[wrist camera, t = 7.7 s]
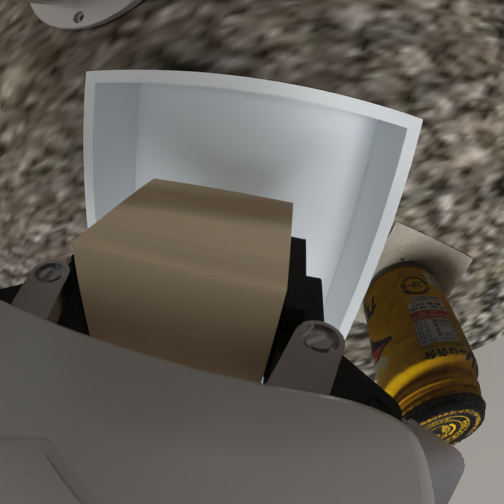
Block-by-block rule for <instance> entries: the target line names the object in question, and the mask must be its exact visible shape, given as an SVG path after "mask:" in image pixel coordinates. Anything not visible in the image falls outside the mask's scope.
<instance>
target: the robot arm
mask: <svg viewBox="0 0 504 504" xmlns="http://www.w3.org/2000/svg"><path fill="white" fill-rule="evenodd" d="M0 1H11V2H24V3H30V5H31V7H32V9H33V11H34V13H35V15H36V16H37V17H38V18H39V19H40V20H41V21H42V22H44V23H46V24H48V25H49V26H52V27H56V28H60V29H70V30H78V29H88V28H92V27H95V26H99V25H102V24H105V23H107V22H109V21H111V20H113V19H116V18H118V17H119V16H121V15H123V14H124V13H126V12H127V11H129V10H131V9H132V8H134V7H135V6H136V5H138V4H139V3H140V2H141V1H143V0H0ZM71 259H72V261H71V262H70V263H69V264H68V265H67V263H65V262H63V261H58V260H51V261H46V262H43V263H41V264H39V265H37V266H36V267H35V268H34V269H33V270H32V271H31V273H30V274H29V276H28V277H27V279H26V280H25V282H24V283H23V284H20V285H16V286H12V287H8V288H4V289H0V504H448V502H449V500H450V498H451V496H452V494H453V492H454V491H455V488H456V486H457V484H458V482H459V480H460V478H461V476H462V473H463V471H464V466H465V465H464V459H463V457H462V455H461V453H460V452H459V451H458V450H457V449H456V448H455V447H453V446H452V445H450V444H449V443H447V442H446V441H444V440H443V439H441V438H440V437H438V436H437V435H435V434H434V433H432V432H431V431H429V430H428V429H426V428H425V427H423V426H422V425H420V424H419V423H418V422H416V421H415V420H413V419H412V418H411V419H410V420H409V421H407V420H406V419H404V418H403V417H402V410H401V408H400V406H399V404H398V403H397V401H396V400H395V399H394V398H393V397H392V396H390V395H389V394H388V393H387V392H386V391H384V390H383V389H382V388H381V387H380V386H378V385H377V384H376V383H375V382H374V381H373V380H371V379H370V378H369V377H368V376H367V375H365V374H364V373H363V372H362V371H361V370H360V369H358V368H357V367H356V366H355V365H354V364H352V363H351V362H350V361H349V360H348V359H347V358H345V357H344V356H343V355H342V354H343V351H344V347H345V340H344V337H343V335H342V334H341V332H340V331H339V330H338V329H336V328H335V327H334V326H332V325H330V324H328V323H326V322H324V307H323V291H322V280H321V278H316V277H311V276H306V239H301V238H297V237H292V236H291V245H290V259H289V272H288V284H287V292H286V295H285V299H284V303H283V307H282V310H281V314H280V318H279V321H278V325H277V329H276V332H275V336H274V340H273V343H272V347H271V350H270V354H269V357H268V361H267V364H266V368H265V371H264V375H263V377H264V378H263V383H259V382H255V381H250V380H245V379H240V378H236V377H231V376H227V375H222V374H218V373H214V372H209V371H205V370H201V369H197V368H193V367H189V366H186V365H182V364H178V363H174V362H171V361H167V360H164V359H160V358H157V357H153V356H150V355H146V354H143V353H140V352H136V351H133V350H130V349H127V348H124V347H121V346H117V345H114V344H111V343H108V342H105V341H102V340H100V339H97V338H94V337H91V336H90V334H89V330H88V326H87V321H86V317H85V312H84V308H83V303H82V298H81V293H80V288H79V283H78V277H77V271H76V265H75V259H74V254H73V255H72V256H71Z"/></svg>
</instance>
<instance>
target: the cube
mask: <svg viewBox="0 0 504 504" xmlns="http://www.w3.org/2000/svg"><path fill="white" fill-rule="evenodd" d="M292 216H293V203H291V202H286V201H281V200H276V199H271V198H266V197H261V196H256V195H251V194H245V193H240V192H234V191H229V190H223V189H217V188H212V187H206V186H200V185H194V184H187V183H181V182H175V181H168V180H162V179H155V178H153V179H152V180H151V181H149V182H148V183H146V184H145V185H144V186H142V187H141V188H140V189H138V190H137V191H136V192H134V193H133V194H132V195H130V196H129V197H128V198H126V199H125V200H124V201H122V202H121V203H120V204H118V205H117V206H116V207H115V208H113V209H112V210H111V211H109V212H108V213H107V214H106V215H104V216H103V217H102V218H101V219H99V220H98V221H97V222H96V223H94V224H93V225H92V226H91V227H90V228H88V229H87V230H86V231H85V232H84V233H82V234H81V235H80V236H79V237H78V238H76V239H75V240H74V241H73V242H72V245H73V252H74V259H75V265H76V271H77V277H78V283H79V288H80V293H81V298H82V303H83V308H84V312H85V317H86V321H87V326H88V330H89V334H90V336H91V337H94V338H97V339H100V340H102V341H105V342H108V343H111V344H114V345H117V346H121V347H124V348H127V349H130V350H133V351H136V352H140V353H143V354H146V355H150V356H153V357H157V358H160V359H164V360H167V361H171V362H174V363H178V364H182V365H186V366H189V367H193V368H197V369H201V370H205V371H209V372H214V373H218V374H222V375H227V376H231V377H236V378H240V379H245V380H250V381H255V382H259V383H261V381H262V378H263V375H264V371H265V368H266V364H267V361H268V357H269V354H270V350H271V347H272V343H273V340H274V336H275V332H276V329H277V325H278V321H279V318H280V314H281V310H282V307H283V303H284V299H285V295H286V292H287V284H288V272H289V259H290V245H291V231H292Z"/></svg>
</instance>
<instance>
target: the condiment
mask: <svg viewBox="0 0 504 504" xmlns="http://www.w3.org/2000/svg"><path fill="white" fill-rule="evenodd" d="M407 255H410V257H408V258H405V257H406V256H407ZM401 258H405V259H404V260H400V259H401ZM472 260H473V259H472V258H471V257H469V256H467V255H465V254H463V253H461V252H459V251H458V250H456V249H454V248H451V247H450V246H448V245H446V244H444V243H442V242H440V241H438V240H436V239H434V238H432V237H430V236H427V235H425V234H422V233H420V232H418V231H416V230H414V229H412V228H410V227H407V226H405V225H403V224H401V223H398V222H396V223H395V225H394V227H393V229H392V231H391V233H390V235H389V236H388V238H387V240H386V243H385V245H384V248H383V251H382V253H381V256H380V259H379V261H378V264H377V266H376V269H375V272H374V274H373V277H372V279H371V282H370V284H369V286H368V289H367V291H366V294H365V296H364V298H363V301H362V303H361V305H360V308H359V310H358V312H357V315H356V317H355V319H354V321H358V322H361V323H365V324H367V328H368V333H369V337H370V343H371V347H372V356H373V359H374V365H375V370H376V376H377V384H378V386H380V387H381V388H382V389H383V390H384V391H386V392H387V393H388V394H389V395H390V396H392V397H393V398H394V399H395V400H396V401H397V403H398V404H399V406H400V408H401V410H402V417H403V418H404V419H406V420H407V421H409V420H410V419H411V418H412V419H413V420H415V421H416V422H418V423H419V424H420V425H422V426H423V427H425V428H426V429H428V430H429V431H431V432H432V433H434V434H435V435H437V436H438V437H440V438H441V439H443V440H444V441H446V442H447V443H449V444H450V445H452V446H453V445H455V444H456V443H458V442H460V441H461V440H463V439H465V438H467V437H468V436H470V435H471V434H472V433H473V432H474V431H476V429H478V427H479V426H480V425H481V424H482V422H483V420H484V417H485V409H486V403H485V401H484V400H483V398H482V397H481V390H480V385H479V382H478V381H477V378H478V365H477V362H476V359H475V357H474V354H473V352H472V350H471V348H470V345H469V343H468V341H467V339H466V337H465V335H464V333H463V331H462V328H461V326H460V324H459V322H458V320H457V318H456V316H455V314H454V312H453V310H452V308H451V306H450V304H449V302H448V300H447V297H448V296H449V294H450V293H451V291H452V289H453V288H454V287H455V285H456V283H457V282H458V280H459V279H460V277H461V276H462V275H463V274H464V272H465V271H466V270H467V268H468V266H469V265H470V263H471V262H472ZM439 284H440V285H439Z"/></svg>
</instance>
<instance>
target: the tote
mask: <svg viewBox="0 0 504 504" xmlns="http://www.w3.org/2000/svg"><path fill="white" fill-rule="evenodd" d="M422 121H423V119H420V118H417V117H414V116H411V115H408V114H405V113H402V112H399V111H396V110H393V109H390V108H387V107H383V106H380V105H377V104H373V103H370V102H366V101H363V100H359V99H355V98H351V97H348V96H344V95H340V94H335V93H331V92H327V91H322V90H318V89H313V88H308V87H304V86H298V85H293V84H288V83H282V82H276V81H270V80H264V79H257V78H250V77H242V76H234V75H225V74H215V73H204V72H190V71H171V70H103V71H86V82H85V99H84V134H83V146H84V182H85V200H86V213H87V224H88V228H90V227H91V226H92V225H93V224H94V223H96V222H97V221H98V220H99V219H101V218H102V217H103V216H104V215H106V214H107V213H108V212H109V211H111V210H112V209H113V208H115V207H116V206H117V205H118V204H120V203H121V202H122V201H124V200H125V199H126V198H128V197H129V196H130V195H132V194H133V193H134V192H136V191H137V190H138V189H140V188H141V187H142V186H144V185H145V184H146V183H148V182H149V181H151V180H152V179H153V178H155V179H162V180H168V181H175V182H181V183H187V184H194V185H200V186H206V187H212V188H217V189H223V190H229V191H234V192H240V193H245V194H251V195H256V196H261V197H266V198H271V199H276V200H281V201H286V202H291V203H293V216H292V231H291V236H292V237H297V238H301V239H306V276H311V277H316V278H321V280H322V291H323V307H324V322H326V323H328V324H330V325H332V326H334V327H335V328H336V329H338V330H339V331H340V332H341V334H342V335H343V337H344V340H345V339H346V337H347V334H348V332H349V330H350V328H351V326H352V324H353V321H354V319H355V317H356V315H357V312H358V310H359V308H360V305H361V303H362V301H363V298H364V296H365V294H366V291H367V289H368V286H369V284H370V282H371V279H372V277H373V274H374V272H375V269H376V266H377V264H378V261H379V259H380V256H381V253H382V251H383V248H384V245H385V243H386V240H387V237H388V234H389V232H390V229H391V226H392V223H393V220H394V217H395V214H396V211H397V208H398V205H399V202H400V199H401V196H402V193H403V190H404V187H405V183H406V180H407V177H408V173H409V170H410V167H411V163H412V160H413V156H414V152H415V149H416V145H417V141H418V137H419V133H420V130H421V126H422ZM263 378H264V377H263ZM263 378H262V381H261V383H263Z"/></svg>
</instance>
